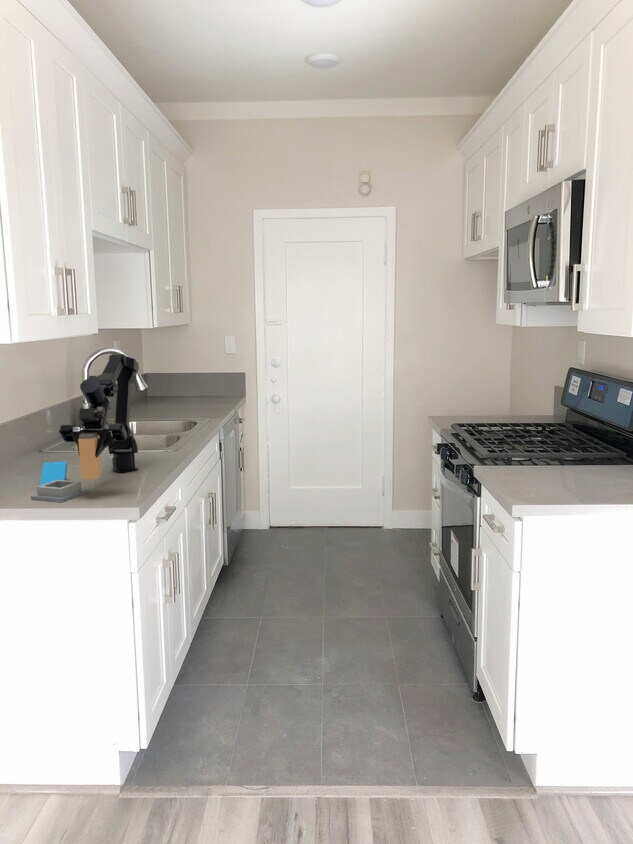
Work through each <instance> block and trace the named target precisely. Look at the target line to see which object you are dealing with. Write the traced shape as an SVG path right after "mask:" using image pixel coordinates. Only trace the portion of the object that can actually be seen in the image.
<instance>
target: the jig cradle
mask: <svg viewBox="0 0 633 844" xmlns="http://www.w3.org/2000/svg"><path fill="white" fill-rule="evenodd" d="M86 493H89V488H85V487H82V481H78V480H67V479H66V480H55V481H52V482H49V483H46V484H44V485H41V486H40V485H38V486H36V493H35V494H33V495H30V500H31V499H32V500H31V501H41V500H45V501H44V502H51V501H60V502H59V503H63V502H62V501H64V502H66V501H65V500H67V499H69V500H71V499H70V498H72V499H74V498H76V497H79V496H81V495H84V494H86ZM78 495H79V496H78ZM75 496H76V497H75ZM73 497H74V498H73ZM67 501H68V500H67Z"/></svg>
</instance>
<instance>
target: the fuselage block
mask: <svg viewBox="0 0 633 844" xmlns="http://www.w3.org/2000/svg"><path fill="white" fill-rule="evenodd" d="M98 441H99V436H97V433H83V434H81V435H79V439H78V442H79V453H78V455H79V454H80V457H79V464H80V467H79V468H80V478H81V480H97V479H98V478H100V477H101V476H102V468H101V454H100V455H99V456H98V457H96V456H95V453H96V448H97V445H98Z"/></svg>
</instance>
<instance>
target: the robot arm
mask: <svg viewBox="0 0 633 844" xmlns="http://www.w3.org/2000/svg"><path fill="white" fill-rule="evenodd" d="M138 372H139V362H138V361H137V360H136V359H135V358H133V357H129V356H127V355H126V354H123V353H113V354H110V355H109V358H108V362H107V363H106V365H105V367H104V369H103V371H102V372H101V374H98V375H89V376H88V378H86V379H84V380H83V381H82V382H81V383H80V386H79V388H80V391H81V393H82V395H83V397H84V399H85V401H86V403H88V404H89V406H88V408H79V413H78V420H79V421H81V426H82V427H84V428H82V427H77V426H76V424H75V423H70V424H69V423H68V424H62V425H61V424H60V426H59V428H58V433H59V434H60V436H61V437H62V439H63V441H64V442H66V443H75V444H77V451H78V456H79V458H80V454H79V442H78V439H79V435H81V434H83V433H97V436H98V437H99V441H98V445H97V448H96V453H95V456H96V457H98V456H99V455H100V456H101V454H102V453H103V451H104V450H106V448H107V449H108V453H109V455H112V456H113V457H112V459H111V460H112V469H111V470H112V471H114V472H117V473H120V474H122V473H127V472H133V471H137V470H138V469H139V468H137V467H136V463H135V462H136V461H135V460H136V459H135V454H137V453H138V452H139V447H138V446H139V445H138V443H137V440H136V438H135V436H134V431H133V430H132V428H131V426H130V415H131V413H130V412H131V398H132V397H131V395H132V385H133V383H134V382H135V380H136V379H137V375H138ZM115 396H116V399H115V400H116V401H115V402H116V403H115V420H114V423H109V424H108V414H109V410H111V405H110V403H111V402H110V400H109V398H114V397H115ZM107 424H108V428H106V425H107Z"/></svg>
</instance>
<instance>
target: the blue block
mask: <svg viewBox="0 0 633 844" xmlns="http://www.w3.org/2000/svg"><path fill="white" fill-rule="evenodd" d="M42 467H43V468H42V473H41V477H40V482H39V483H40V484H39V486H41V485H44V484H46V483H49V482H52V481H55V480H67V471H68V464H67V461H55V462H53V461H52V462H44V463H43V466H42Z"/></svg>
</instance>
